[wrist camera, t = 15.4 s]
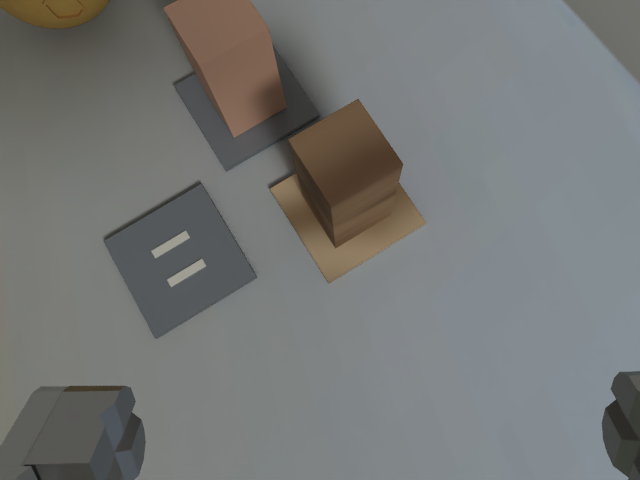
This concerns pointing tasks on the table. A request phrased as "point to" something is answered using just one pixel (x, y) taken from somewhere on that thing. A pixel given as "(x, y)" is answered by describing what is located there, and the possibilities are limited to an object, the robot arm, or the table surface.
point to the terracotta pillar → (230, 58)
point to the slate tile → (257, 136)
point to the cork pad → (357, 248)
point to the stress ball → (54, 11)
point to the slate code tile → (179, 260)
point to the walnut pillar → (346, 172)
